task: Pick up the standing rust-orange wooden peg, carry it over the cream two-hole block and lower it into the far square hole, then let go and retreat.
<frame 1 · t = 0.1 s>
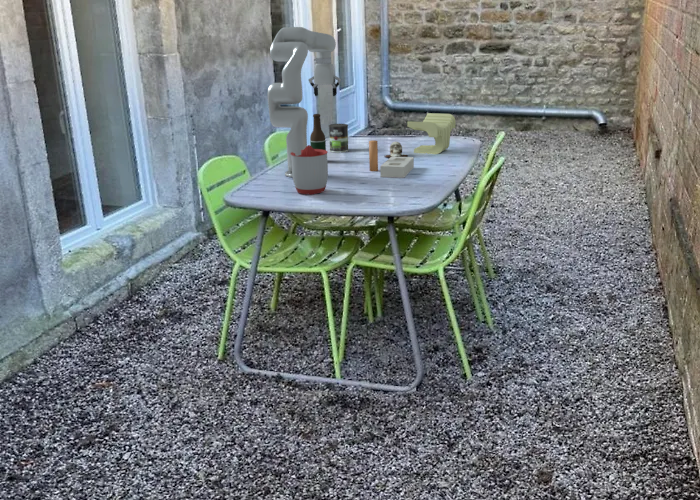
hand: (325, 95, 370), 31 cm above the table, tool pointing down, fingers open, 9 cm apart
block: (397, 172, 338), on the table
peg: (373, 170, 343), on the table
coffee can: (339, 151, 392), on the table
skull: (395, 157, 373), on the table
slatted curved stool: (431, 151, 383), on the table
beer bottle: (318, 162, 367), on the table
citrus juicer: (309, 191, 308), on the table
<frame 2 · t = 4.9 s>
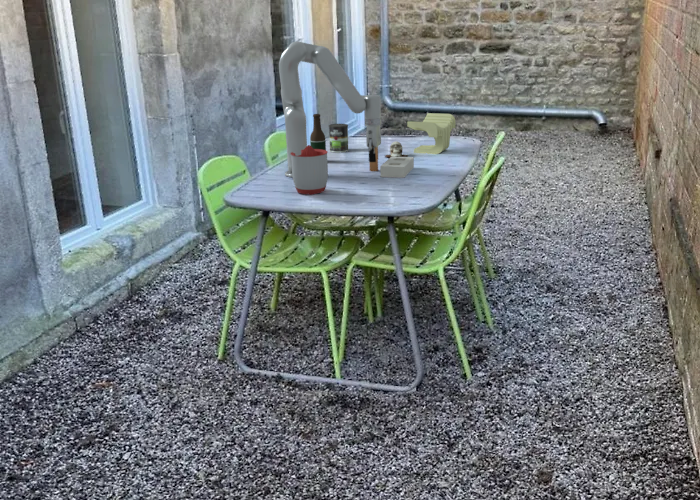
hand: (373, 160, 341), 5 cm above the table, tool pointing down, fingers closed on peg, 4 cm apart
peg: (373, 170, 343), on the table, touching gripper
everything else where it was.
when the fingers open (6 cm above the table, at t = 9.9 s): peg drops 1 cm, resting in block.
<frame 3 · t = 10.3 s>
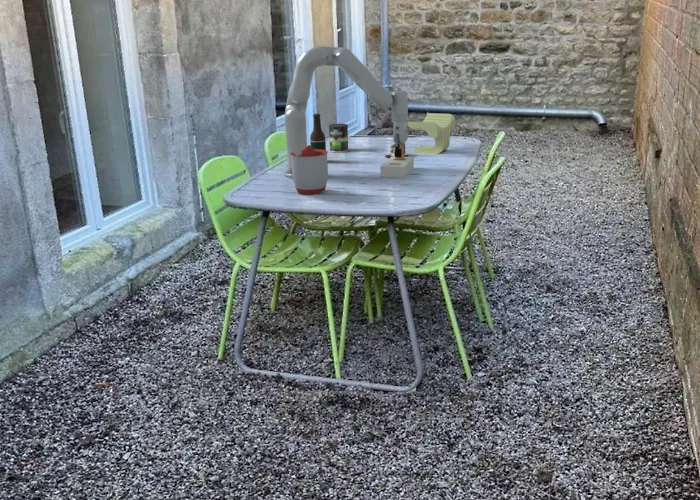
hand: (400, 155, 341), 7 cm above the table, tool pointing down, fingers open, 7 cm apart
peg: (400, 169, 343), resting in block
everything else where it was.
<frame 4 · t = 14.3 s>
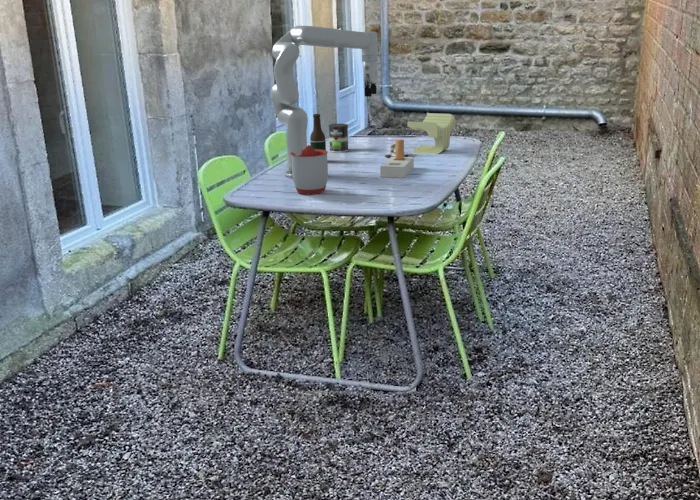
hand: (370, 95, 348), 33 cm above the table, tool pointing down, fingers open, 9 cm apart
nothing on the table moved.
at the end: peg 0.0 cm from the target spot on the block, point 0.0 cm above the block's base; peg tilted 0°; the gripper is holding nothing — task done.
